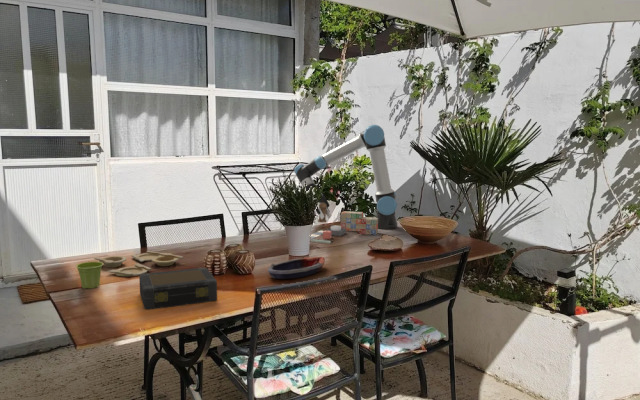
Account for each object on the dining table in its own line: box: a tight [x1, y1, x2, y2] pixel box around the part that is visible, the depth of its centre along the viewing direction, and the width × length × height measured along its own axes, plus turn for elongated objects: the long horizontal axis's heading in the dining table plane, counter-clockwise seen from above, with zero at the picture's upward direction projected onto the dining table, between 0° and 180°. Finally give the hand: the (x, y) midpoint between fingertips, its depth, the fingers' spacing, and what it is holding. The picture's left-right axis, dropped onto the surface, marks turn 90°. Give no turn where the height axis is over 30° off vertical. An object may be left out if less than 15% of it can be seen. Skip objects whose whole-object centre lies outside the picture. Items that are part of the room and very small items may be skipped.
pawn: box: [317, 203, 327, 223], centre depth 290 cm, size 5×5×11 cm
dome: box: [330, 224, 341, 231], centre depth 285 cm, size 6×6×4 cm
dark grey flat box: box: [138, 267, 218, 311], centre depth 181 cm, size 25×20×8 cm
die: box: [322, 230, 332, 240], centre depth 274 cm, size 4×4×4 cm
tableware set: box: [93, 250, 184, 277], centre depth 223 cm, size 35×29×4 cm
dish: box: [267, 256, 326, 280], centre depth 212 cm, size 16×31×5 cm, turn 132°
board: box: [310, 227, 347, 245], centre depth 281 cm, size 17×24×4 cm
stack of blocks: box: [340, 210, 379, 236], centre depth 296 cm, size 21×6×12 cm, turn 74°
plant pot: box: [75, 261, 104, 289], centre depth 191 cm, size 9×9×9 cm
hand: (326, 217), depth 288 cm, fingers closed on pawn, 4 cm apart
